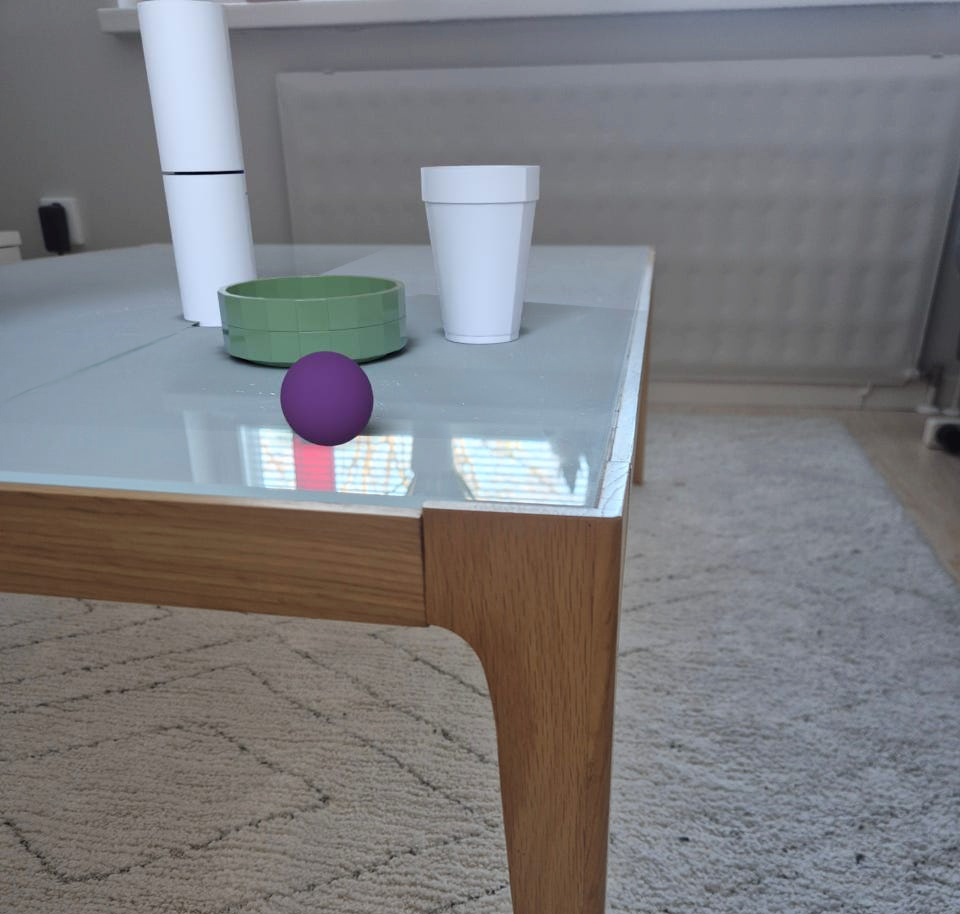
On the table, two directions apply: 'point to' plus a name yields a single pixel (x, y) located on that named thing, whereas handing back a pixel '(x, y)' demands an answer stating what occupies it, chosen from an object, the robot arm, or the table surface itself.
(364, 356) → the bowl
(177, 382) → the table surface
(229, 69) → the cylindrical container
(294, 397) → the ball
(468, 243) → the foam cup
